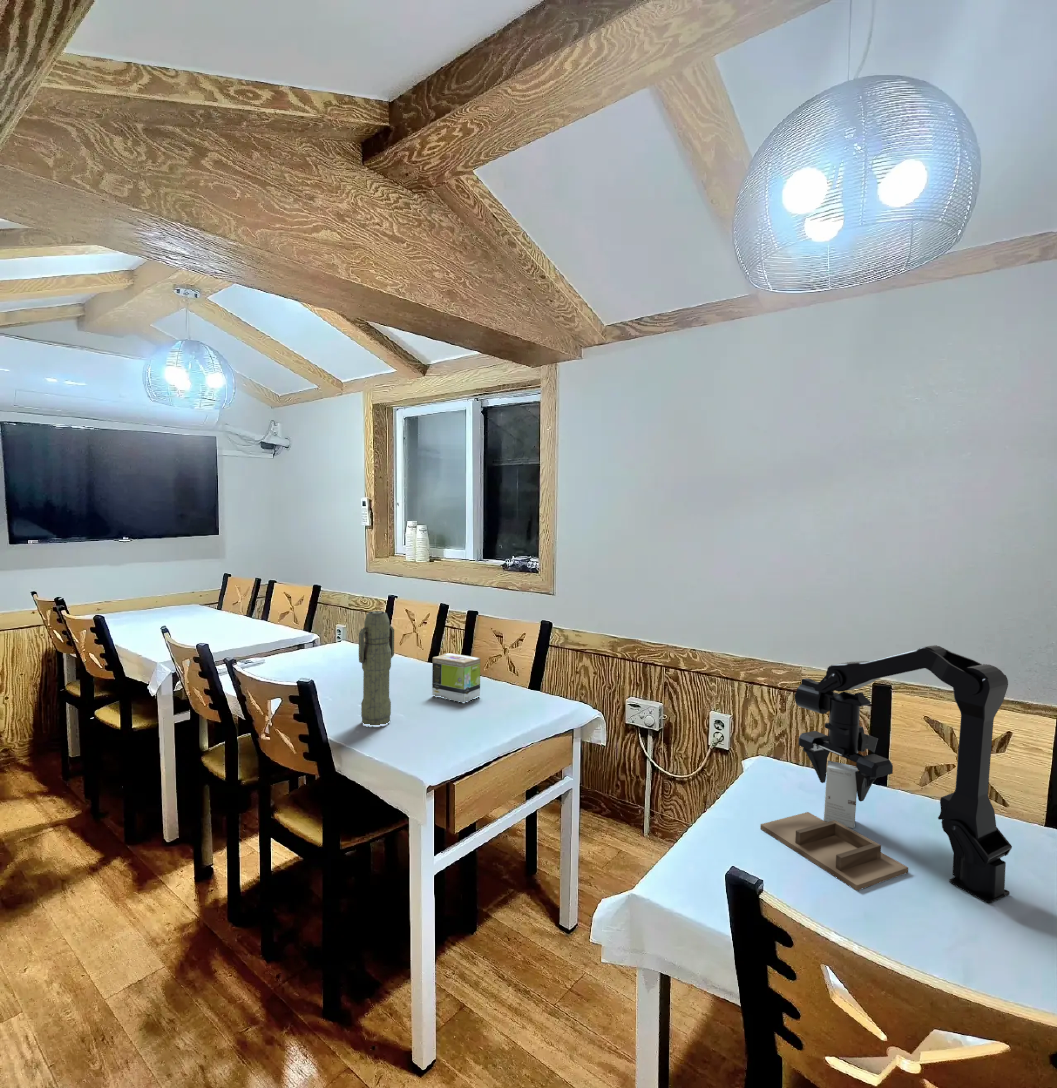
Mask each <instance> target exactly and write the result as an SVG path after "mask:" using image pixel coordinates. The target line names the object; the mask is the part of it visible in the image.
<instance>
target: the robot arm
mask: <svg viewBox="0 0 1057 1088" xmlns="http://www.w3.org/2000/svg"><path fill="white" fill-rule="evenodd" d="M923 669H926V670H928V671H929V672H930V673H932V674H933V675H934V676H935V677H937V679H939V680H940V681H941V682H943V683H944V684H946V685H948V686H950V687H951V688H952V689H953V690H952V691H953V698H954V701H955V704H956V705H957V707H958V710H959V711H960V712H959V713H960V725H959V738H958V750H957V751H958V752H957V762H956V763H957V765H956V777H955V788H954V792H951V793H948V794H946V795H944V796H941V797H940V799H939V800H940V801H939V804H940V813H939V815H938V817H937V819H938V820H941V828H942V830H943V832H944V833H945V834H946V835H947V837H948V840H949V843H950V846H951V849H952V853H953V855H952V856H953V857H952V876H953V877H952V878H949V881H948V882H949V883H950V884H952V885H954V886H956V887H957V888H958V889H961V890H963V891H964V892H967V893H968V894H969V895H972V896H974V897H976V898H978V899H979V900H981V901H983V902H985V903H988V904H991V903H994V902H996V901H998V900H1001V899H1003V898H1006V897H1008V896H1010V895H1011V894H1010V891H1009V890H1007V889H1006V888H1005V884H1006V883H1005V881H1006V864H1007V862H1006V861H1004V859H1003V860H1002V858H1003V857H1006V856H1008V855H1009V853H1010V852H1011V851H1012V849H1013V846H1012V844H1011V843H1010V841H1009V840H1007V838H1006V837H1005V835H1004V834H1003V833H1002V831H1000V829H999V827H997V821H996V814H995V812H996V811H995V808H994V807H993V804H992V802H991V799H990V798H989V782H990V772H991V771H990V770H991V757H992V744H993V731H994V722H995V721H994V720H995V717H996V715H997V713H998V711H999V709H1000V708H1001V707H1002V705H1003V704H1004V703H1003V702H1004V700H1005V697H1006V695H1007V694H1006V693H1007V691H1008V687H1009V679H1008V676H1007V675H1006V674H1004V672H1003V671H1002V670H1001V669H1000V668H999V667H996V666H994V665H991V664H985V663H983V664H982V663H980V662H978V661H977V660H975V659H973V658H969V657H966V656H963V655H961V654H957V653H955V652H952V651H950V650H948V649H946V648H944V647H942V646H940V645H936V644H934V645H928V646H927V645H926V646H921V647H919V648H917V649H914V650H910V651H906V652H902V653H900V654H899V653H898V654H894V655H890V656H886V657H882V658H878V659H875V660H868V661H867V660H863V661H862V660H861V661H860V660H859V661H849V662H848V661H847V662H841V663H836V664H831V665H829V666H828V667H827V670H826V672H825V676H824V677H823V678H821V680H820V681H816V680H813V679H812V678H807V677H806V678H802V679H801V684H800V685H798V687H797V689H796V692H795V693H794V702H795V704H796V706H798V707H800V708H802V709H806V710H808V711H812V712H815V713H818V714H822V715H826V714H827V713H828V712H829V715H828V718H829V720H828V722H825V723H824V729H827V730H828V735H827V734H825V733H822V732H819V731H816V730H812V731H808V732H802V733H800V735H799V737H798V746H799V747H801V748H802V751H803V752H804V753H806V755H807V757H808V759H809V760H810V762H811V764H812V767H813V769H814V771H815V773H816V775H817V778H818V780H819V782H820V783H822V784H824V783H825V784H826V777H827V766H828V758H829V755H830V753H833V754H835V755H837V756H839V757H842V758H844V759H846V760H848V761H852V762H854V763H856V765H855V766H856V767H857V768H858V771H856V772H855V776H856V786H857V799H858V801H859V802H864V800H865V799H866V797H867V795H868V793H869V791H870V788H871V787H872V785H873V783H874V782H875V781H876V780H877V778H880V777H885V776H889V775H892V774H893V773H894V772H893V771H894V767H893V766H894V765H893V763H892V761H891V760H890V759H888V758H886V757H883V756H881V755H878V754H875V752H876V748H877V746H878V745H877V744H878V740H879V738H877V737H874V736H872V735H869V734H866V733H865V729H864V727H863V726H861V725H860V713H861V707H864V706H869V705H871V704H872V702H871V701H870V700H869V698H868V697H866V695H864V693H863V692H862V691H861V692H857V693H855V694H854V693H851V692H847V691H851V690H856V689H861V688H863V687H866V686H868V685H869V684H870V685H871V684H872V683H874V682H876V681H878V680H880V679H881V678H886V677H890V676H891V677H892V676H896V675H900V674H904V673H909V672H914V671H918V670H923ZM834 691H835V692H834ZM866 749H867V750H869V751H870V752H872V753H870V754H865V755H864V754H860V753H859V752H862V753H864V752H866Z"/></svg>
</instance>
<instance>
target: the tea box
mask: <svg viewBox="0 0 1057 1088" xmlns="http://www.w3.org/2000/svg"><path fill="white" fill-rule="evenodd" d="M431 673H432V675H431V676H432V677H431V678H432V679H431V680H432V684H431V685H432V686H431V687H432V688H431V691H432V692H431V693H432V694H431V696H432V695H435V696H441V697H444V698H447V699H451V700H454V701H453V702H455V701H460V702H466V701H470V700H471V699H473V698H475V697H477V696H480V697H481V657H477V656H470V655H465V654H459V653H451V652H449V653H443V654H441V655H438V656H433V657H432V672H431ZM470 702H471V701H470Z"/></svg>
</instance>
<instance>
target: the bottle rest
mask: <svg viewBox="0 0 1057 1088" xmlns="http://www.w3.org/2000/svg"><path fill="white" fill-rule="evenodd" d="M760 830H761V831H763V832H765V833H766V834H768V835H769V836H771V837H773V838H774V839H776V840H777V841H779V842H780V843H782V844H783V845H785V846H787V847H788V848H790V849H791V850H792V851H794V852H796V853H797V854H798V855H800V856H802V857H804V858H805V859H807V860H808V861H810V862H811V863H813V864H815V865H816V866H818V867H819V868H821V869H823V870H824V871H825V872H827V873H828V872H829V874H830V875H831V876H833V877H834V878H836V877H837V878H836V879H837V880H839V879H840V880H839V881H841V880H842V881H843V883H844V884H845V883H846V884H845V885H847V886H849V885H850V886H851V887H850V886H849V887H850V888H852V889H853V888H854V889H853V890H855V891H856V890H858V891H861V890H863V889H865V887H866V888H868V887H871V886H874V885H875V886H876V885H878V884H879V883H883V882H885V881H888V880H891V879H894V878H897V877H899V876H902V875H906V874H908V873H909V867H908V866H907V865H905V864H903V863H902V862H899V861H898V860H896V859H894V858H893V857H891V856H888V855H887V854H885V853H883V852H882V851H881V850H882V845H881V844H879V843H878V842H876V841H874V840H872V839H870V838H868V837H866V836H865V835H863V834H861V833H860V832H857V831H856V830H854V829H853V828H850V827H846V826H845V825H843V824H841V823H839V822H837V821H835V820H833V821H829V822H827V821H824V819H822V818H820V817H819V816H817V815H814V814H812V813H811V812H809V811H806V812H803V813H798V814H795V815H791V816H786V817H784V818H779V819H775V820H771V821H768V822H767V821H766V822H764V823H760ZM842 881H841V882H842ZM862 888H863V889H862Z"/></svg>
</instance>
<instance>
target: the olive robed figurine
mask: <svg viewBox="0 0 1057 1088" xmlns="http://www.w3.org/2000/svg"><path fill="white" fill-rule="evenodd" d="M363 626H364V627H363V628H361V629H360V630H359V632H358V662H359V663H360V664H361V669H362V672H363V676H362V677H363V686H362V687H363V688H362V689H363V696H362V701H361V706H360V707H361V713H360V714H361V723H362V722H363V723H364V724H370V725H380V724H386V723H388V722H389V721H390V722H391V713H392V701H391V698H390V670H391V667H392V659H393V657H394V656H395V628H394V627H393V626H392V625H390V619H389V616H388V613H387V612H385V611H380V610H377V611H376V610H374V611H370V612H368V613H367V614H366V616H365V620H364V625H363Z"/></svg>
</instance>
